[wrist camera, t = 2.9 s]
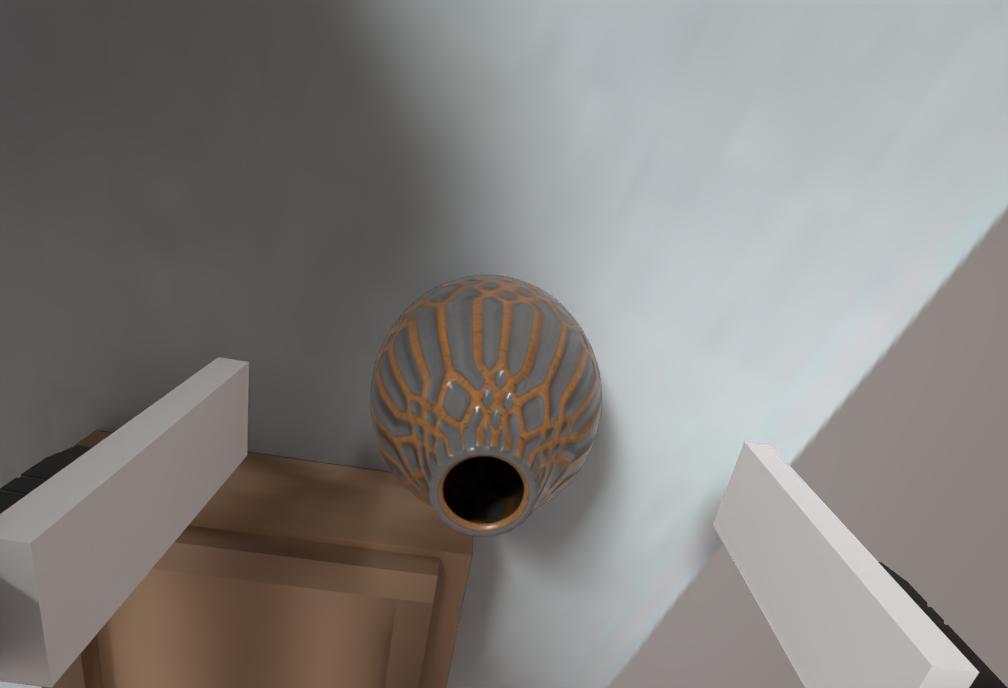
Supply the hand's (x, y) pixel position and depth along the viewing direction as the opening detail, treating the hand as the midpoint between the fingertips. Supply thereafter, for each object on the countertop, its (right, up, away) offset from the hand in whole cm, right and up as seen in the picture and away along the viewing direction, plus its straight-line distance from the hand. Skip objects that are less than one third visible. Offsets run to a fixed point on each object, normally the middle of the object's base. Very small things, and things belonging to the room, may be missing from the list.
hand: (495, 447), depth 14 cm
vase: (0, +3, +6) cm, 6 cm away
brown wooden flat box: (-9, -8, +9) cm, 16 cm away
